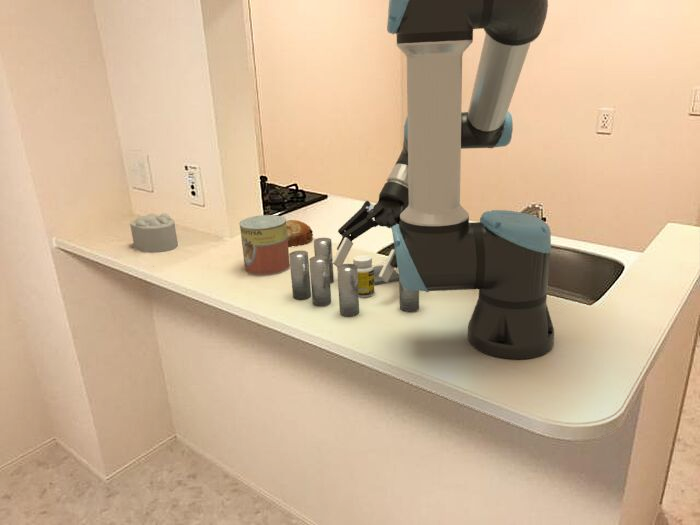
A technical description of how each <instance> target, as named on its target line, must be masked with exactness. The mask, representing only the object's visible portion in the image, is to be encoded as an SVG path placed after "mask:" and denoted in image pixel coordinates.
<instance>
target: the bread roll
mask: <svg viewBox="0 0 700 525" xmlns="http://www.w3.org/2000/svg"><path fill="white" fill-rule="evenodd" d="M286 229H287V240H288V248H289V247H291V248H293V247H292V246H294V247H299V246H298V245H300V246H305V245H307V244H309V243H311V241H312V240H313V236H314V234H313V233H314V232H313V230H312V228H311V226H310V225H308V224H307V223H305V222H303V221H300V220H297V219H288V220H286ZM304 244H305V245H304Z"/></svg>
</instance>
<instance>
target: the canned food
mask: <svg viewBox="0 0 700 525" xmlns="http://www.w3.org/2000/svg"><path fill="white" fill-rule="evenodd" d="M286 221H287V219H286V218H285V217H284V216H281V215H277V214H276V215H275V214H273V215H272V214H262V215H255V216H251V217H247V218H245V219H242V220H241V221H240V222H239V224H238V225H239V230H240V238H241V248H242V255H243V263H244V271H245V273H246V274H248V275H251V276H254V277H255V276H256V277H266V276H267V277H269V276H275V275H279V274H282V273H285V272H286V271H288V270H289V269H291V268H290V257H289V254H290V253H289V247H288V240H287V229H286Z"/></svg>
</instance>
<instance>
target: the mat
mask: <svg viewBox="0 0 700 525" xmlns="http://www.w3.org/2000/svg"><path fill="white" fill-rule="evenodd" d="M383 266H384V265H377V266H373V267H374V286H379V285H384V284H385V285H386V284H390V283H395V282H399V272H397V271H396V270H395V269H394V270H393V272H392V274H391V276H390V278H389V280H388V282H384V281H383V280H382V279H381V278H380V277H379V274H380V272H381V270H382V268H383Z"/></svg>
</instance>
